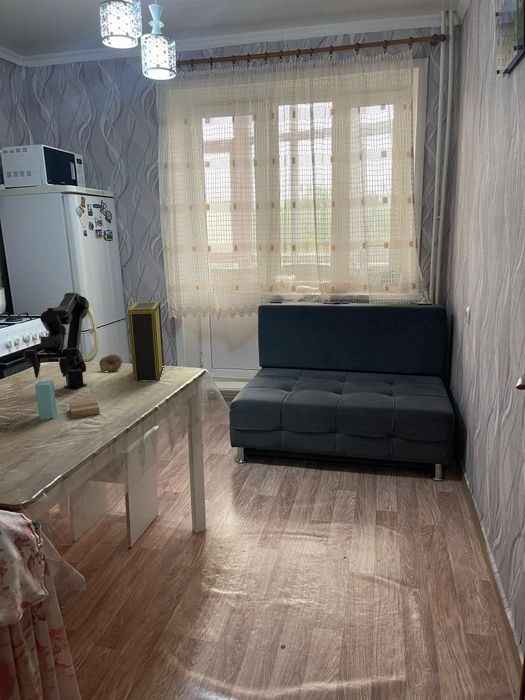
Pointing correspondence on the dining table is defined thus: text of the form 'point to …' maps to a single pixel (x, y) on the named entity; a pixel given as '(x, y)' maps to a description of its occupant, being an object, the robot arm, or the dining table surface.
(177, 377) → the dining table surface
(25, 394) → the dining table surface
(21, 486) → the dining table surface
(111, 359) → the fossil
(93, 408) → the base brick
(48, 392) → the tall block
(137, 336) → the diorama
